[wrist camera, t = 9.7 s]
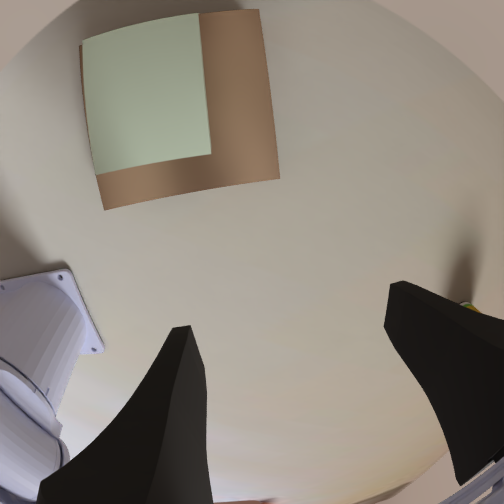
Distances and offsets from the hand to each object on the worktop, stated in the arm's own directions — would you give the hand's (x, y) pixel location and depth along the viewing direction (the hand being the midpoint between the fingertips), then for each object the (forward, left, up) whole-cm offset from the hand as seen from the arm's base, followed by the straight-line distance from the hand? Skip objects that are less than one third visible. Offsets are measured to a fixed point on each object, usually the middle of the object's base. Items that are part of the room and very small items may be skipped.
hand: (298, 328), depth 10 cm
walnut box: (-4, +8, -11) cm, 14 cm away
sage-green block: (-4, +8, -8) cm, 12 cm away
